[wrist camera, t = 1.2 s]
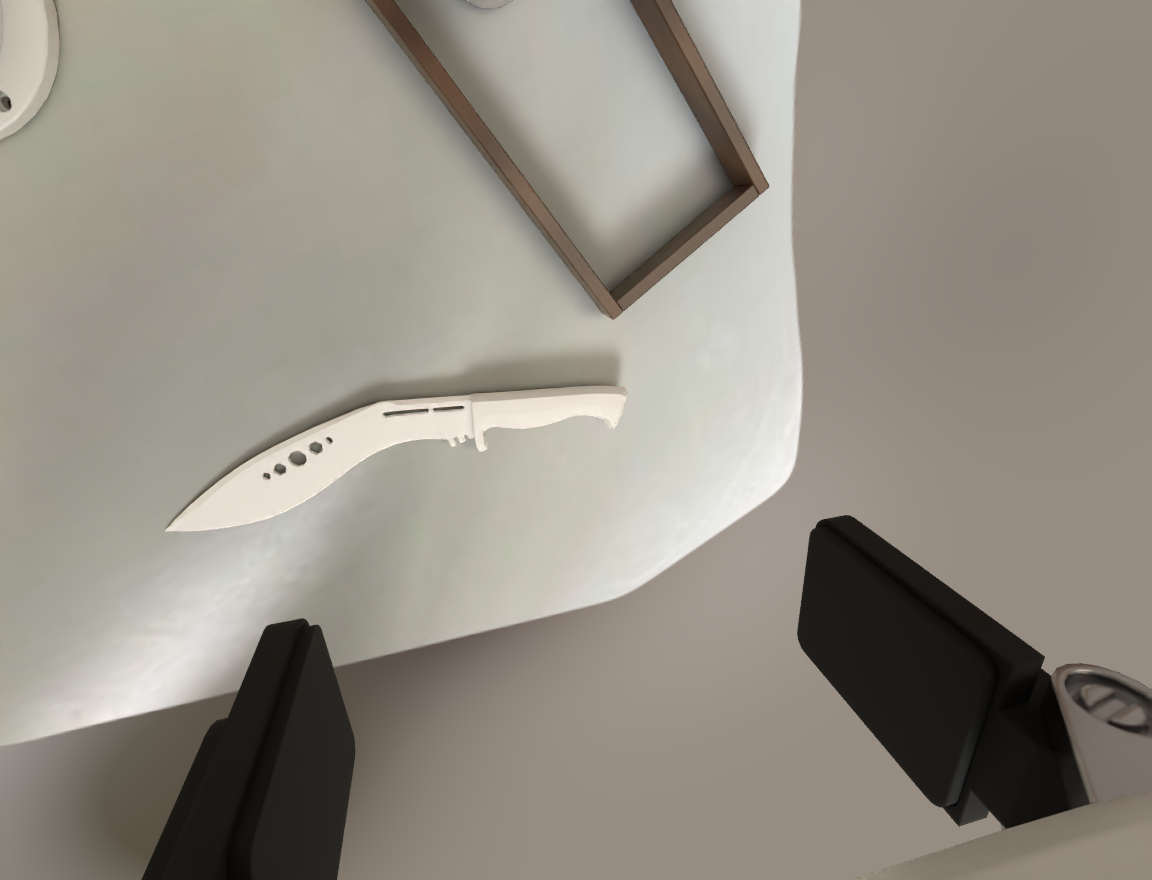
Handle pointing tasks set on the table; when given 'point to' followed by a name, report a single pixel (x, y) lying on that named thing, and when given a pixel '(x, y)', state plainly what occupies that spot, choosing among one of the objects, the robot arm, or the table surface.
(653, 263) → the walnut frame
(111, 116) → the table surface
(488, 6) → the beverage can
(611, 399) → the knife
